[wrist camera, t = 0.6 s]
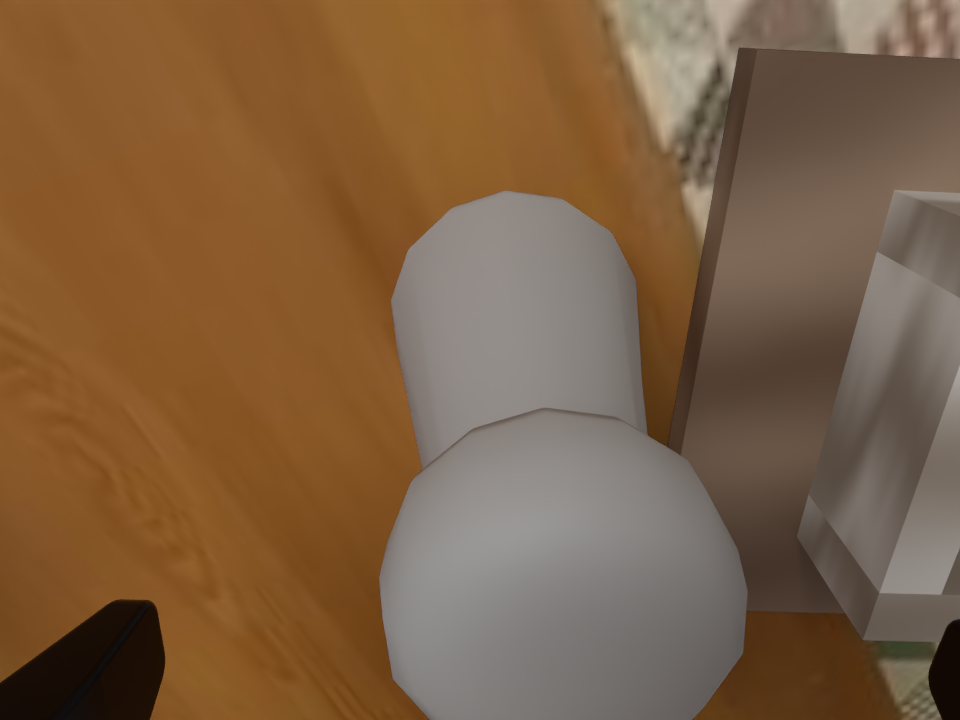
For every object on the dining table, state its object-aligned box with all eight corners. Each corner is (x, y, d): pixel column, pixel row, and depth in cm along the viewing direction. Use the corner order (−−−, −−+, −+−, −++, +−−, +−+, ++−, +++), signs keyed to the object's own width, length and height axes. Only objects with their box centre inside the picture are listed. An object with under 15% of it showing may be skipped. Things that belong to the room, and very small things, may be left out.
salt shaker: (618, 372, 21) (816, 836, 9) (415, 388, 21) (347, 867, 9) (616, 161, 18) (886, 415, 7) (387, 181, 18) (243, 467, 7)
